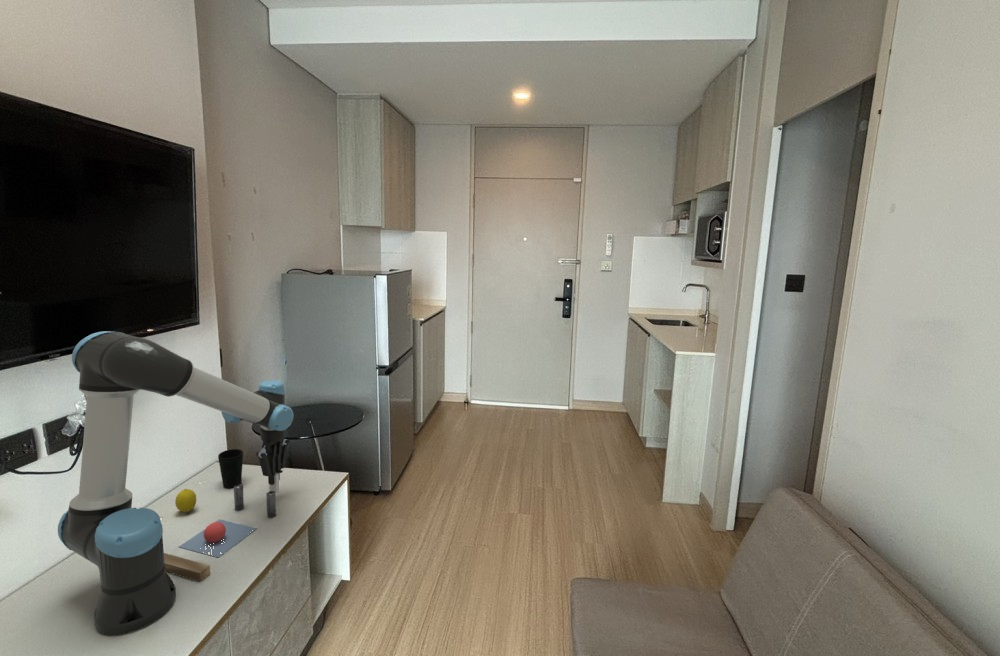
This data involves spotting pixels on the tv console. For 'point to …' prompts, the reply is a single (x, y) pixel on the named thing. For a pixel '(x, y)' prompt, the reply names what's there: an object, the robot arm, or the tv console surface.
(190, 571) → the wall
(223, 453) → the cup
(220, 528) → the ball
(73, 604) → the tv console surface
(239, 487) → the post left
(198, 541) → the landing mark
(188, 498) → the lemon
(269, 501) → the post right
